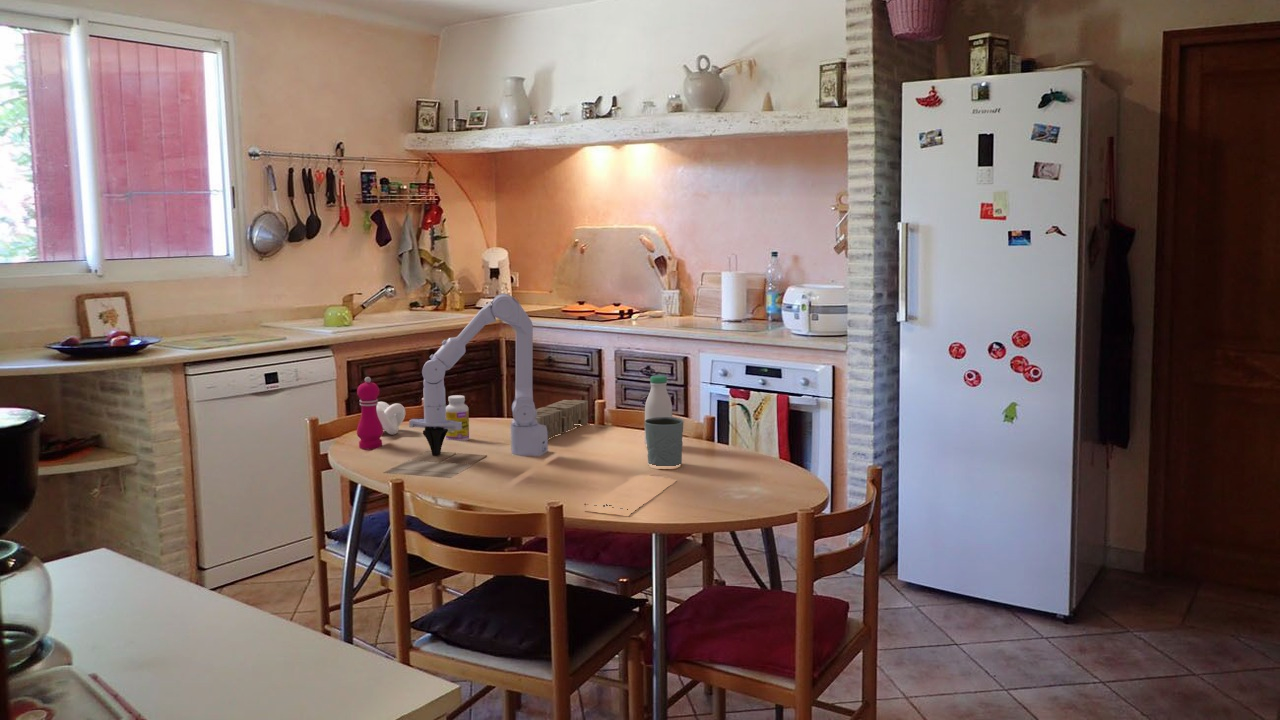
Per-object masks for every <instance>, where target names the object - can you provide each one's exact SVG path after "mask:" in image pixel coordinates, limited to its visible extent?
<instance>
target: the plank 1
mask: <svg viewBox="0 0 1280 720" xmlns="http://www.w3.org/2000/svg"><path fill="white" fill-rule="evenodd" d="M455 454H457V452H450V451H449V452H448V451H441V453H440V455H438V456H433V455H432V452H431V450H427V451H425V452H423V453H422V454H420V455H417V456H416V457H414V458H412V459H411V460H413V461H427V462H440V463H442V462H444V461H445V460H447V459H449V458H450V457H452V456H454V455H455Z"/></svg>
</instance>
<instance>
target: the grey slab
mask: <svg viewBox="0 0 1280 720" xmlns="http://www.w3.org/2000/svg"><path fill="white" fill-rule="evenodd" d="M473 466H474V464H472V465H469V464H456V463H442V462H429V461H415V460H412V459H408V460H406V461H404V462H402V463H400V464H398V465H395V466H394V467H392V468H390V469H388V470H385V471H383V474H392V475H393V474H395V475H408V476H409V475H410V476H422V477H434V478H446V479H451V478H453V477H454V476H456V475H458V474H460V473H462V472H464V471H465V470H468V468H471V467H473Z"/></svg>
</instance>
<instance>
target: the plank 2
mask: <svg viewBox="0 0 1280 720" xmlns="http://www.w3.org/2000/svg"><path fill="white" fill-rule="evenodd" d="M486 457H488V455H487V454H473V453H463V452H462V453H459V452H458V453H457V452H456V454H455V455H454V456H452V457H450V458H448V459H446V460H444V461H442V462H441V463H454V464H467V465H474V464H476V463H477V462H478V463H479V461H481V460H484V459H485V458H486Z"/></svg>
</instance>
